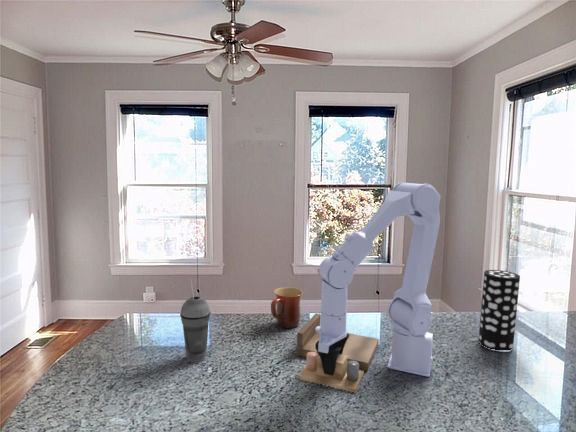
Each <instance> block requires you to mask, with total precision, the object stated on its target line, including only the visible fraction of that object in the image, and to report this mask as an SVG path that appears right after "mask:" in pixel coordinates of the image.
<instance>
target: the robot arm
mask: <svg viewBox="0 0 576 432" xmlns="http://www.w3.org/2000/svg"><path fill="white" fill-rule="evenodd" d="M441 198H442V196H441V195H440V192H438V191H437V189H436V188H435V187H434V186H433V185H432V184H430V183H412V182H405V181H401V182H398V183H396V184H395V185H394V187H393V188H392V190H390V191H389V192H387V194H386V197H385V200H384V201H383V202H382V204H381V205H380V207H379V208H378V209H377V210H376V211H375V213H374V214H373V215H372V216H371V218H370V219H369V220H368V222H366V224H365V226H363V228H362V229H361V231H352V232H351V234H349V233H348V234H347V235H346V236H345V238H344V239H345V240H344V241H343V243H341V245H340V246H339V247H338V248H337V250H335V251H332V253H331V254H330V255H331V256H328V257H326V258H325V259H323V260H322V261H321V262H320V265H319V268H317V275H318V277H319V278H320V279H321V296H320V297H321V299H320V301H321V302H320V314H321V319H320V326H317V327H316V328H315V331H316V332H319V334H320V341H317V343H316V344H315V348H316V350H317V352H318V354H319V356H320V358H321V362H322V367H323V371H324V374H327V375H332V376H333V374H334V372H335V367H336V361H337V357H338V355H339V354H342V353H343V349H344V346H345V343H346V341H347V339H348V338H349V334H348V333H349V332H348V330H347V316H348V315H347V314H348V313H347V312H348V285H350V284H351V283H352V282H353V279H354V275H355V271H356V270H357V268H358V267H359V265H360V264H362V262H364V260H365V259H366V258H367V256H368V255H369V254H370V253H371V252H372V251H373V250H374V248H373V247H374V241H375V240H376V239H377V238H378V237H379V235H381V234H382V233H383V232H384V231H385V230H386V229H387V228H388V227H389V226H390V225H391V223H392V222H394V221H395V220H396V219H397V218H399V217H404V216H407V217H408V218H409V220H411V221H412V222H413V225H414V226H413V230H412V234H411V240H410V244H409V245H410V246H409V251H408V255H407V259H406V265H405V270H404V274H403V280H402V285H401V287H400V288H399V289H397V290H396V291H394V294H393V298H392V300H391V302H390V303H389V305H388V308H387V313H388V317H389V319H391V322H392V323H391V324H392V343H391V355H390V357H389V359H388V364H387V368H388V369H390V370H396V371H398V372H399V371H400V372H405V373H408V374H409V373H410V374H414V375H418V376H423V377H430V375H431V369H432V365H433V362H434V360H433V359H434V357H433V356H432V354H433V343H434V342H433V341H434V339H433V338H434V334H433V332H429V330H430V329H431V327H432V324H433V316H432V308H433V304H432V302H431V300H430V299H429V296H428V295H427V288H428V284H429V283H428V282H429V280H430V274H431V269H432V264H433V258H434V254H435V249H436V245H437V244H436V243H437V239H438V235H439V230H440V224H441V213H440V203H441Z"/></svg>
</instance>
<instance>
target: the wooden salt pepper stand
mask: <svg viewBox="0 0 576 432" xmlns="http://www.w3.org/2000/svg"><path fill="white" fill-rule="evenodd" d="M347 357H348V356H347V355H342V354H339V355H338V357H337V361H336V367H335V372H334V374H333V376H332V375H327V374H324V371H323V367H322V362H321V358H320V356H318V354H317V353H316V352H308V353H307V357H306V362H305V363H306V364H305V367H304V368H303V369H302V370H301V372H300V373H299V374H298V380H301V381H305V382H308V381H309V383H312V382H314V383H313V384H316V383H319V384H318V385H320V384H324V385H328V386H333V387H336V388H340V389H343V390H342V391H344V390H346V391H345V392H348V391H350V392H349V393H352V392H354V393H353V394H356V393H357V392H356V391H358V388H359V387H360V385H361V383H360V382H362V380H363V378H364V376H365V370H361V369H359V363H358V362H357V361H348V362H347ZM363 375H364V376H363ZM362 377H363V378H362ZM359 384H360V385H359ZM324 385H323V386H324ZM328 386H327V387H328ZM358 386H359V387H358ZM336 388H335V389H336ZM340 389H339V390H340Z"/></svg>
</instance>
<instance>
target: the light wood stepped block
mask: <svg viewBox="0 0 576 432" xmlns="http://www.w3.org/2000/svg"><path fill="white" fill-rule="evenodd" d="M317 326H321V313H314V315H312V316H311V318H309V320H308V321H307V322H305V324H304V325H303V326H302V327H301V328H300V329H299V330H298V331H297V332H296V333H297V334H296V356H299V357H303V358H307V353H308V352H316V353H317V354H318V352H317V350H316V348H315V344H316V343H317V341H320V334H319V332H316V331H315V328H316V327H317ZM347 333H348V334H349V338H348V339H347V341H346V343H345V346H344V349H343V353H342V355H347V356H348V357H347V362H348V361H357V362H358V363H359V370H361V369H362V370H361V371H365V370H367V371H366V372H368V371H369V369H370V367H371V365H372V362H373V360H374V358H375V355H376V353H377V350H378V347H379V342H380V341H379V340H380V339H379V338H375V337H371V336H367V335H365V336H364V335H360V334H354V333H349V332H347ZM318 356H319V354H318Z"/></svg>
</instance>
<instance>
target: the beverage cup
mask: <svg viewBox="0 0 576 432" xmlns="http://www.w3.org/2000/svg"><path fill="white" fill-rule="evenodd" d="M189 286H190V296H191V297H190V298H188V299H186V300H185V302H184V303H182V305H181V308H180V315H179V316H180V320H181V323H182V328H183V337H184V338H183V339H184V346H185V347H184V348H185V355H186V360H188V361H187V362H189V363H193V364H194V363H195V364H196V363H200V362H202V361H205V360H206V358H207V357H206V355H207V345H208V335H209V321H210V318H211V313H212V312H211V308H210V305H209V303H208V301H207V300H205V298H203V297H201V296H195V295H194V288H193V283H192V279H191V278H189Z"/></svg>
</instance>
